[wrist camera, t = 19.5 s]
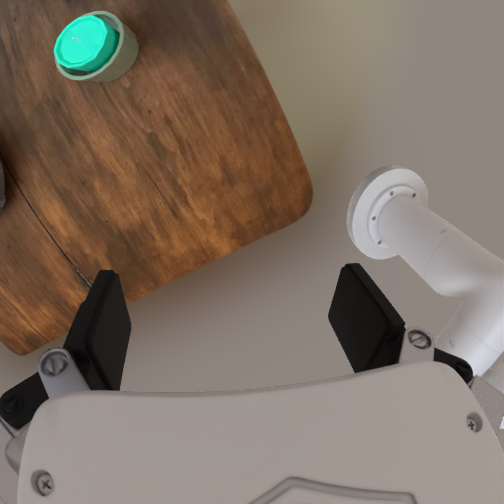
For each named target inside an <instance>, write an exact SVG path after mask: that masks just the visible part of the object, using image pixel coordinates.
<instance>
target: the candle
mask: <svg viewBox="0 0 504 504" xmlns="http://www.w3.org/2000/svg"><path fill="white" fill-rule="evenodd" d="M119 37H120V33H119V32H118V31H116V30H115V29H114V28H112V27H111V26H110V25H108V24H107V23H106V22H104V21H103V20H101V19H99V18H97V17H95V16H93V15H90V16H84V17H79V18H77V19H76V20H74V21H73V22H72V23H70V24H69V25H68V26H66V28H65V29H64V30H63V32H62V33H61V34H60V35H59V37H58V38H57V41H56V44H55V48H54V51H53V52H54V54H55V57H56V59H57V61H58V63H60V64H61V65H63V66H65V67H67V68H71V69H77V70H83V71H88V72H93V73H94V72H96V71H97V70H99V69H101V68H102V67H103V66H104V65H105V64H106V63H108V62H109V60H110V59H111V57H112V56H113V55H114V53H115V51H116V49H117V46H118V44H119Z"/></svg>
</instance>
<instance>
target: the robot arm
mask: <svg viewBox="0 0 504 504" xmlns="http://www.w3.org/2000/svg"><path fill="white" fill-rule="evenodd" d="M367 231H368V234H369V236H370V238H371V240H372V241H373V242H374V243H375V244H376V245H377V246H379V247H381V248H385V249H390V248H392V249H394V250H395V251H396V252H397V253H398V254H399V255H400V256H401V257H402V258H403V259H404V260H405V261H406V262H407V263H408V264H409V265H410V266H411V267H412V268H413V269H414V270H415V271H416V272H417V273H418V274H419V275H420V276H421V277H422V278H423V279H424V280H425V281H426V282H427V283H428V284H429V285H430V286H431V288H432V289H434V290H435V291H436V292H437V293H439V294H441V295H444V296H449V297H456V296H464V297H463V300H462V302H461V304H460V305H459V307H458V309H457V311H456V312H455V313H454V315H453V316H452V318H451V319H450V320H449V322H448V323H447V324H446V326H445V327H444V329H443V330H442V331H441V333H440V334H439V335H438V336H437V338H436V339H435V341H434V339H433V337H432V336H431V334H430V333H429V332H427V331H426V330H424V329H422V328H419V327H410V328H408V329H407V330H406V329H405V327H404V325H405V322H404V321H403V319H402V318H401V317H400V315H399V314H398V313H397V311H396V310H395V309H394V307H393V306H392V304H391V303H390V302H389V301H388V299H387V298H386V297H385V295H384V294H383V293H382V291H381V290H380V289H379V288H378V286H377V285H376V284H375V283H374V281H373V280H372V279H371V277H370V276H369V275H368V274H367V272H366V271H365V270H364V269H363V267H362V266H361V265H360V264H359V263H352V264H351V263H350V264H346V265H345V267H342V269H341V271H340V275H339V279H338V282H337V286H336V290H335V293H334V297H333V300H332V304H331V307H330V310H329V314H328V318H329V321H330V324H331V325H332V328H333V330H334V332H335V333H336V336H337V338H338V340H339V342H340V344H341V346H342V348H343V350H344V352H345V354H346V356H347V358H348V360H349V362H350V364H351V366H352V368H353V370H354V372H355V373H354V374H349V375H345V376H339V377H335V378H329V379H324V380H317V381H311V382H305V383H298V384H292V385H283V386H275V387H266V388H257V389H245V390H234V391H233V390H232V391H214V392H131V391H120V385H121V379H122V373H123V367H124V362H125V357H126V351H127V347H128V342H129V337H130V333H131V321H130V317H129V314H128V310H127V306H126V303H125V299H124V295H123V291H122V287H121V282H120V278H119V275H118V274H117V273H115V272H114V271H113V270H100V271H99V272H98V274H97V277H96V279H95V281H94V283H93V285H92V287H91V289H90V291H89V293H88V295H87V298H86V300H85V301H84V302H82V304H81V305H80V307H79V310H78V312H77V314H76V316H75V319H74V321H73V323H72V326H71V328H70V331H69V333H68V336H67V338H66V341H65V343H64V346H63V348H60V347H55V348H51V349H48V350H47V351H46V352H44V353H43V354H42V355H41V356H40V359H39V361H38V365H37V367H38V372H37V373H35V374H34V375H32V376H31V377H29V378H27V379H26V380H24V381H22V382H21V383H19V384H18V385H16V386H14V387H13V388H11V389H9V390H8V391H6V392H5V393H4V394H3V395H2V396H1V398H0V498H1V499H2V501H3V502H4V503H5V504H504V452H503V449H502V447H501V445H500V442H499V440H498V438H497V433H498V431H499V429H504V360H503V361H502V362H501V364H500V365H499V366H498V367H497V368H495V369H494V368H490V366H491V365H492V364H493V363H494V362H495V361H496V359H497V358H498V357H499V356H500V354H501V353H502V352H503V351H504V261H503V260H502V259H500V258H498V257H496V256H495V255H494V254H492V253H490V252H489V251H487V250H486V249H484V248H483V247H482V246H480V245H479V244H477V243H476V242H475V241H473V240H472V239H471V238H469V237H468V236H467V235H465V234H464V233H462V232H461V231H460V230H458V229H457V228H455V227H454V226H453V225H451V224H450V223H449V222H447V221H446V220H444V219H443V218H441V217H440V216H438V215H437V214H435V213H434V212H433V211H431V210H430V209H428V208H426V207H425V206H423V205H422V204H421V200H420V197H419V196H418V194H417V192H416V191H415V190H414V189H412V188H410V187H408V186H406V185H401V184H399V185H394V186H391V187H389V188H387V189H385V190H384V191H383V192H382V193H380V194H379V196H378V197H377V198H376V199H375V201H374V202H373V204H372V206H371V208H370V210H369V214H368V217H367Z"/></svg>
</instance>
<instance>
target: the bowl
mask: <svg viewBox="0 0 504 504" xmlns="http://www.w3.org/2000/svg"><path fill="white" fill-rule="evenodd" d="M4 191H5V183H4V172H3V168H2V164H1V162H0V214H1V211H2V209H3V206H4V204H5V200H6V198H5V195H4Z"/></svg>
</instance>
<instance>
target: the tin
mask: <svg viewBox="0 0 504 504" xmlns="http://www.w3.org/2000/svg"><path fill="white" fill-rule="evenodd" d="M90 15H93V16H95V17H97V18H99V19H101V20H103V21H104V22H106V23H107V24H108V25H110V26H111V27H112V28H114V29H115V30H116V31H118V32H119V33H120V37H119V44H118V46H117V49H116V51H115V53H114V55H113V56H112V57H111V59H110V60H109V62H108V63H106V64H105V65H104V66H103V67H102V68H101V69H99V70H97V71H96V72H94V73H93V72H88V71H83V70H77V69H71V68H67V67H65V66H63V65H61V64H60V63H58V61H57V59H56V57H55V61H56V65H57V68H58V70H59V71H60V72H61V74H62V75H64V76H65V77H67V78H69V79H73V80H82V81H92V82H100V83H102V82H110V81H113V80H116V79H118V78H119V77H121V76H123V75H124V74H125V73H126V72H127V71H128V70H129V69H130V68H131V67H132V65H133V64H134V62H135V60H136V58H137V55H138V50H139V44H138V40H137V37H136V35H135V34H134V33H133V32H132V31H131V29H129V28H128V27H127V26H126V25H125V24H124V23H123V22H122V21H121V20H120V19H119V18H118V17H117V16H115V15H114V14H111V13H109V12H107V11H94V12H90V13H87V14H84V15H82V16H81V17H84V16H90Z"/></svg>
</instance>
